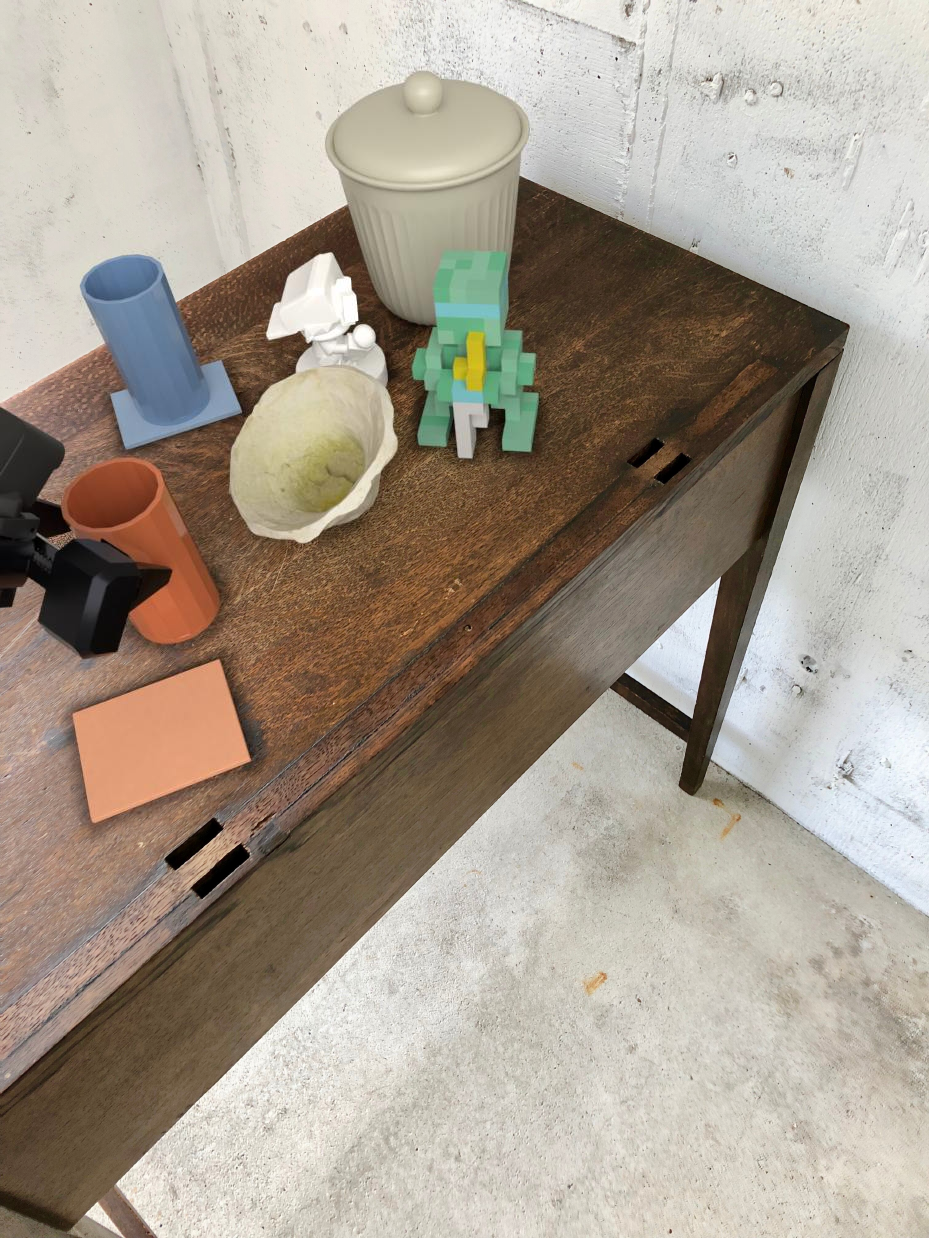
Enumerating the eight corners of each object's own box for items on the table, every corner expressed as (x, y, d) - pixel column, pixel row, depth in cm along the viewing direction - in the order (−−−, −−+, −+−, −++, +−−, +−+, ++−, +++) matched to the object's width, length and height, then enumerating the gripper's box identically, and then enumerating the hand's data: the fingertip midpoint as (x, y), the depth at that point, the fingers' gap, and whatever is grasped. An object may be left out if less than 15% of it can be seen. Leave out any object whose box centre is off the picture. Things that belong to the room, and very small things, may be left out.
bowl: (212, 498, 76) (173, 408, 67) (347, 424, 80) (326, 331, 72) (301, 604, 68) (269, 518, 60) (445, 516, 73) (433, 425, 64)
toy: (416, 455, 77) (393, 307, 65) (435, 380, 83) (418, 231, 70) (529, 462, 76) (528, 312, 63) (541, 385, 81) (542, 234, 69)
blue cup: (145, 434, 80) (86, 312, 70) (132, 391, 84) (74, 268, 73) (217, 411, 81) (170, 288, 71) (201, 369, 85) (154, 246, 75)
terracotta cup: (142, 656, 66) (68, 546, 56) (127, 592, 70) (54, 477, 60) (229, 624, 68) (172, 511, 57) (209, 563, 71) (152, 445, 61)
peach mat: (94, 823, 59) (91, 820, 58) (75, 716, 64) (72, 713, 63) (251, 761, 61) (249, 758, 60) (221, 662, 66) (219, 658, 65)
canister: (320, 319, 89) (270, 100, 72) (417, 229, 98) (393, 14, 81) (471, 372, 83) (455, 146, 66) (561, 271, 91) (568, 48, 74)
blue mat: (126, 450, 80) (124, 446, 79) (112, 398, 84) (109, 394, 84) (242, 412, 82) (241, 408, 81) (222, 363, 86) (220, 359, 86)
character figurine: (383, 412, 81) (362, 298, 71) (282, 414, 81) (247, 301, 72) (391, 351, 86) (373, 236, 76) (296, 353, 86) (266, 240, 77)
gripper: (34, 476, 42) (254, 492, 56) (-172, 347, 49) (69, 390, 63) (-17, 679, 45) (204, 646, 59) (-203, 529, 52) (33, 532, 66)
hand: (125, 546), depth 61 cm, fingers open, 9 cm apart
